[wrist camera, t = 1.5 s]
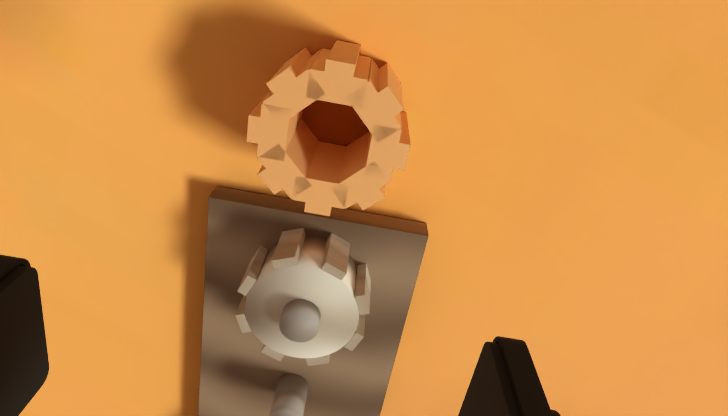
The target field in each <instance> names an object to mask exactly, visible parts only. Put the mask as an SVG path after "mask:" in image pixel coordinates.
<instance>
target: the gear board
mask: <svg viewBox="0 0 728 416" xmlns="http://www.w3.org/2000/svg"><path fill="white" fill-rule="evenodd" d="M305 203H306V202H301V201H296V200H293V199H287V198H282V197H276V196H270V195H265V194H259V193H254V192H248V191H242V190H237V189H231V188H225V187H220V186H217V187H216V188H215V190H214V191H213V192H212V194H211V195H210V197H209V205H208V226H207V246H206V267H205V287H204V307H203V328H202V348H201V369H200V389H199V410H198V416H380V413H381V409H382V405H383V401H384V398H385V394H386V390H387V387H388V383H389V379H390V376H391V372H392V368H393V365H394V361H395V357H396V354H397V350H398V346H399V343H400V339H401V335H402V331H403V328H404V324H405V320H406V317H407V313H408V309H409V306H410V302H411V298H412V295H413V291H414V287H415V284H416V280H417V276H418V273H419V269H420V265H421V262H422V258H423V254H424V250H425V247H426V243H427V239H428V230H427V224H426V223H423V222H417V221H411V220H406V219H400V218H394V217H389V216H383V215H377V214H372V213H366V212H361V211H355V210H349V209H341V208H335V207H332V208H331V213H330V216H325V215H319V214H314V213H308V212H304V210H305Z"/></svg>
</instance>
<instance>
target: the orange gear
mask: <svg viewBox="0 0 728 416" xmlns="http://www.w3.org/2000/svg"><path fill="white" fill-rule="evenodd" d="M360 47H361V45H360V44H354V43H349V42H344V41H339V40H336V42H335V44H334V46H333V48H332V49H331V50H330V49H325V48H323V49H320V50H319V51H317V52H316V53H315V54H313V55H311V54H310V52H309V51H308V49H307V48H306V47H305V48H304V49H302V50H301V51H300V52H298V53H297V54H296V55H294V56H293V57H292V58H290V59H289V60H288V61H286V62H285V64H284V65H283V66H282V67H281V68H280V69H279V70H278V71H277V72H276V73H275V75H274V76H273V77H272V78H271V79H270V80H269V81H268V82H267V83H266V85H267V86H268V88H269V89H270V90H269V92H268V93H267V94H266V95H265V96H264V97H263V99H262V100H261V101H260V102H259V103H258V105H257V106H256V107H255V108H254V109H253V111H252V112H251V113H250V114H249V117H248V129H247V142H251V143H256V144H258V149H257V157H258V160H259V161H260V162H261V163H262V164H263V166H262V167H261V169H260V171H259V173H258V174H257V175H258V176H259V177H260V178H261V179H262V181H263V182H264V183H265V184H266V185H267V187H268V188H269V189H270V190H271V191H272V193H273V194H274V195H275V194H276V193H278V192H279V191H281V190H282V189H283V190H284V191H285V192H286V194H287V195H288V196H289V197H290V198H291V199H292V198H293V200H296V201H301V202H306V203H305V210H304V212H308V213H314V214H319V215H325V216H330V213H331V208H332V207H335V208H341V209H344V208H346V209H347V208H348V207H350V206H351V205H353V204H355V203H356V202H357V203H358V205H359V206H360V207H361V209H362V210H365V209H366V208H368V207H369V206H371V205H373V204H374V203H376V202H378V201H379V200H381V199H383V198H384V197H385V185H386V184H387V183H389V182H390V181H391V177H392V172H393V168H394V169H399V170H405V166H406V162H407V158H408V153H409V149H410V138H409V130H408V122H407V114H406V112H401V111H403V110H404V107H403V98H402V89H401V82H400V81H399V79H398V78H397V76H396V75H395V73H394V72H393V70H392V69H391V67H390V66H389V64H388V63H386V64H385V65H383V66H382V67H381V68H379V67H378V66H377V64H376V63H375V61H374V60H373V58H372V59H371V57H367V56H361V55H359V53H360ZM316 100H321V101H327V102H332V103H337V104H343V105H348V106H352V107H353V108H354V110H355V111H356V113H357V114H358V115H359V117H360V118H361V120H362V121H363V122H364V124H365V125H366V127H367V128H368V129H369V132H367V133H366V134H364V135H363V136H361V137H360V138H358V139H357V140H355V141H354V142H352V143H350V144H349V145H347V146H342V145H337V144H331V143H326V142H320V141H318V140H317V138H316V137H315V136H314V134H313V133H312V132H311V130H310V129H309V128H308V126H307V125H306V124H305V122H304V121H303V120H302V112H303V109H304V108H306V107H307V106H308V105H310V104H311V103H313V102H314V101H316Z"/></svg>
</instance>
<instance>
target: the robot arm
mask: <svg viewBox="0 0 728 416" xmlns="http://www.w3.org/2000/svg"><path fill="white" fill-rule="evenodd" d="M48 371H49V362H48V354H47V346H46V337H45V329H44V321H43V313H42V305H41V297H40V289H39V281H38V273H37V270H36V269H35V268H33V267H31V266H30V263H29V262H28V260H26V259H23V258H16V257H10V256H4V255H0V416H18V415H19V414H20V413H21V412H22V410H23V409H24V408H25V407H26V405H27V404H28V403H29V402H30V400H31V399H32V398H33V396H34V395H35V394H36V393H37V391H38V390H39V389H40V388H41V386H42V385H43V383H44V382H45V380H46V378H47V375H48ZM458 416H560V414H559V413H558V412H557V411H555V410H550V407H549V404H548V402H547V399H546V396H545V394H544V391H543V388H542V386H541V383H540V380H539V377H538V375H537V372H536V369H535V367H534V364H533V361H532V358H531V356H530V353H529V350H528V348H527V345H526V343H525V342H524V341H523V340H517V339H511V338H505V337H499V336H498V337H496V338H495V339H494V340H493V342H486V343H485V344H484V346H483V349H482V352H481V354H480V357H479V360H478V363H477V365H476V368H475V371H474V374H473V376H472V379H471V382H470V385H469V388H468V390H467V393H466V396H465V399H464V401H463V404H462V407H461V410H460V412H459V415H458Z"/></svg>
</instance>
